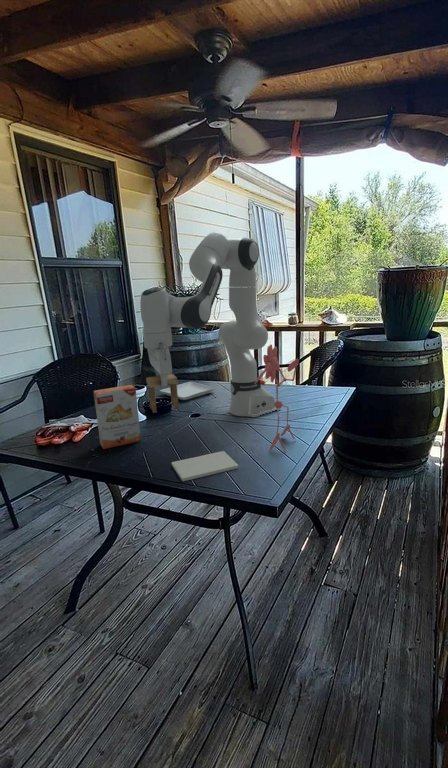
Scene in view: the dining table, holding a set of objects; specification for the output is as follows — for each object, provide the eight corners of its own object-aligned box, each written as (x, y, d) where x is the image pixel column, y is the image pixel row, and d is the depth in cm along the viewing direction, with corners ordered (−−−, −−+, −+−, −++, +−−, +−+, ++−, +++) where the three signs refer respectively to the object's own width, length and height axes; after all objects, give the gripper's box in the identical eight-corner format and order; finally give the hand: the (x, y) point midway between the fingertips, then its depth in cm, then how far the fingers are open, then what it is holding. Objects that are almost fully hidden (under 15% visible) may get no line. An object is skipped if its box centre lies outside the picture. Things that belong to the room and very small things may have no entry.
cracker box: (103, 450, 143) (95, 394, 138) (100, 444, 149) (92, 390, 143) (141, 441, 149) (135, 387, 144) (137, 436, 155) (131, 383, 149)
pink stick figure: (305, 433, 148) (303, 338, 140) (279, 462, 127) (274, 352, 118) (267, 428, 156) (262, 338, 147) (236, 455, 135) (228, 351, 126)
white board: (223, 453, 135) (223, 450, 135) (238, 468, 125) (238, 465, 124) (171, 465, 129) (171, 462, 129) (182, 481, 118) (182, 478, 118)
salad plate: (183, 403, 193) (183, 396, 192) (159, 396, 209) (158, 389, 208) (216, 393, 207) (216, 387, 206) (191, 387, 222) (190, 381, 221)
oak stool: (175, 404, 137) (173, 374, 134) (179, 409, 132) (177, 377, 129) (149, 408, 134) (146, 377, 132) (152, 413, 129) (149, 381, 126)
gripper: (175, 344, 119) (178, 389, 122) (161, 336, 137) (165, 375, 141) (153, 346, 117) (158, 392, 120) (143, 338, 135) (147, 377, 139)
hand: (162, 383), depth 131 cm, fingers closed on oak stool, 6 cm apart
